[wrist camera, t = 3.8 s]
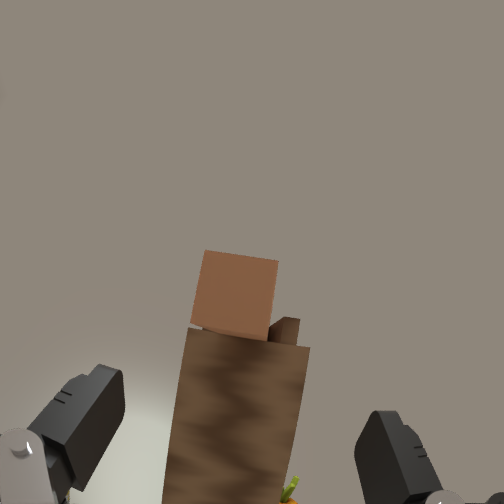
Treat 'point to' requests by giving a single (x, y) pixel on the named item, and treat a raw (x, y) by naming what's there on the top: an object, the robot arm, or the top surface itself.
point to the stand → (235, 417)
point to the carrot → (289, 492)
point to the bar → (235, 295)
